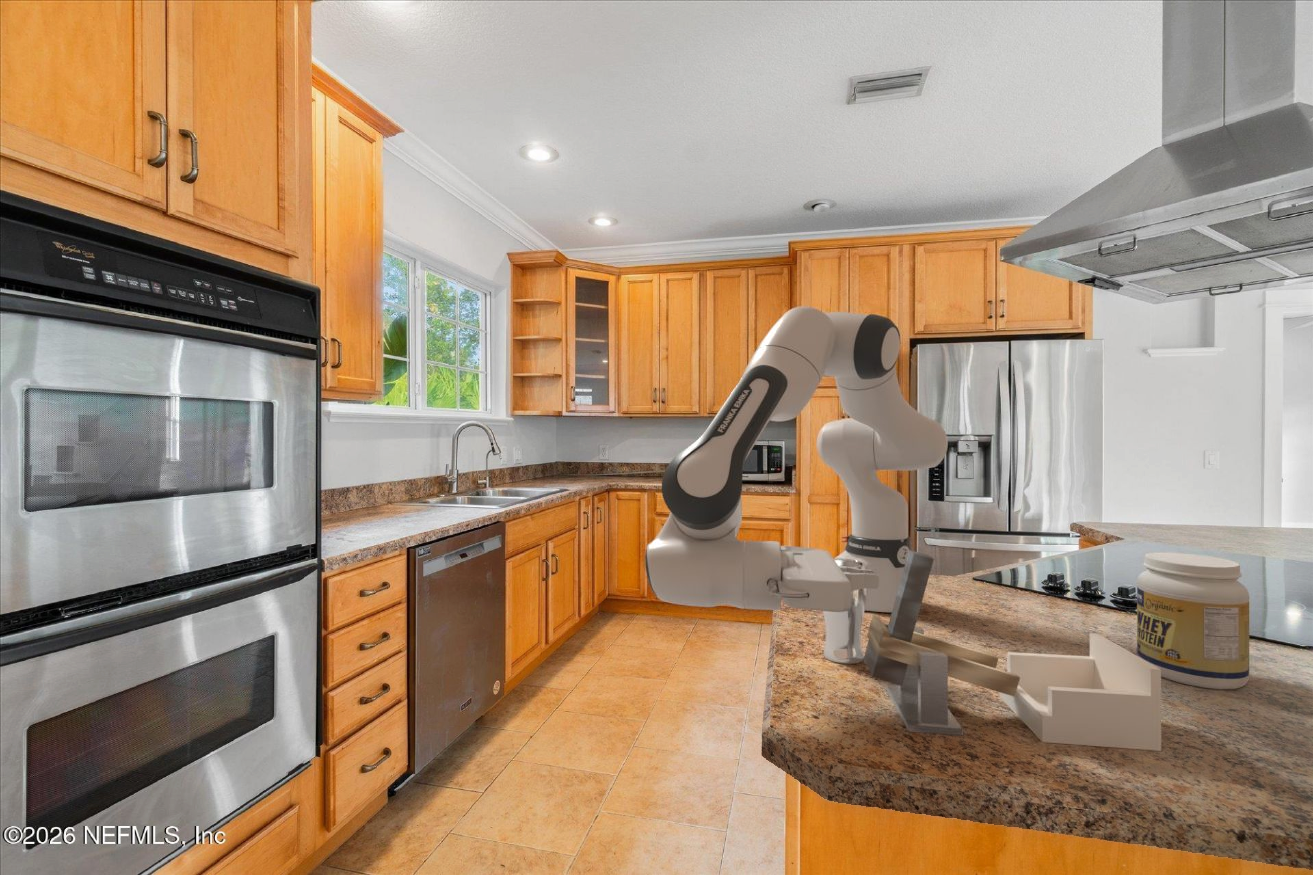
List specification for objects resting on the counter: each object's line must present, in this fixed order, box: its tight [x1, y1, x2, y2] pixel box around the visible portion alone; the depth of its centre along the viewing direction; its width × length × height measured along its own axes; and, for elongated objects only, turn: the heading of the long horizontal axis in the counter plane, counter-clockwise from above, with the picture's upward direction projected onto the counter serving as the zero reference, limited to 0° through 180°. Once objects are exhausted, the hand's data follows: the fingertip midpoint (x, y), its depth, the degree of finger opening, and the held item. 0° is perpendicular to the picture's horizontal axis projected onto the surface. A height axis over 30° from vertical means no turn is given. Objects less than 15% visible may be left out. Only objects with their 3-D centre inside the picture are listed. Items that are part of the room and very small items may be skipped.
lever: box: [863, 550, 1020, 697], centre depth 74 cm, size 16×8×16 cm, turn 81°
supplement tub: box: [1136, 551, 1250, 690], centre depth 86 cm, size 12×12×17 cm
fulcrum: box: [885, 626, 964, 736], centre depth 75 cm, size 6×12×9 cm, turn 171°
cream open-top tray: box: [998, 633, 1162, 752], centre depth 72 cm, size 12×12×9 cm
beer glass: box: [822, 557, 866, 665], centre depth 93 cm, size 7×7×15 cm
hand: (876, 579), depth 75 cm, fingers closed
